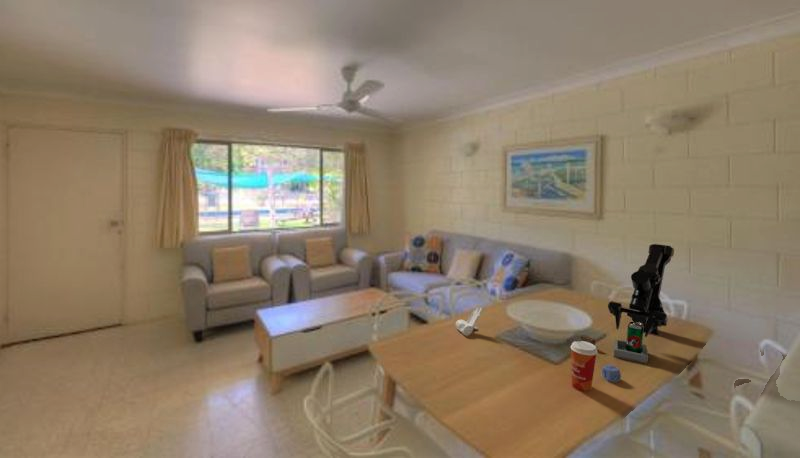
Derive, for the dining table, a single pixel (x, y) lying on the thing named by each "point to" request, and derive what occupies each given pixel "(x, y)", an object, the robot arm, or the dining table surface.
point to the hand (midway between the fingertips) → (631, 332)
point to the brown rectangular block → (587, 339)
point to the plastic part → (469, 322)
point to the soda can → (634, 337)
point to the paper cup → (582, 364)
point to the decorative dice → (611, 373)
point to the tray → (632, 356)
